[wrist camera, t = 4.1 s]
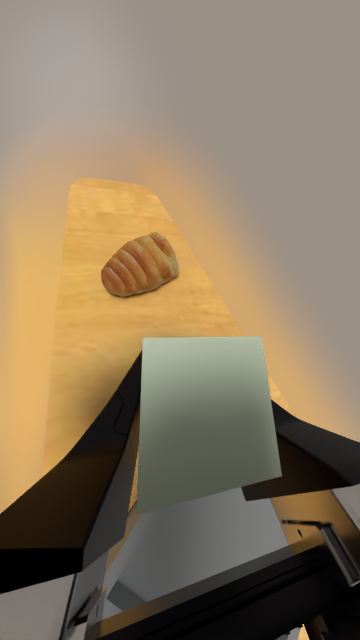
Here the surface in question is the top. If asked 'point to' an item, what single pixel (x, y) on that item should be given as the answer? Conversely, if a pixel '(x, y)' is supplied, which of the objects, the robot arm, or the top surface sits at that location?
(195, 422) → the block
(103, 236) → the top surface
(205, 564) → the tray
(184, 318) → the top surface
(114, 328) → the top surface
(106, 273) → the pastry
